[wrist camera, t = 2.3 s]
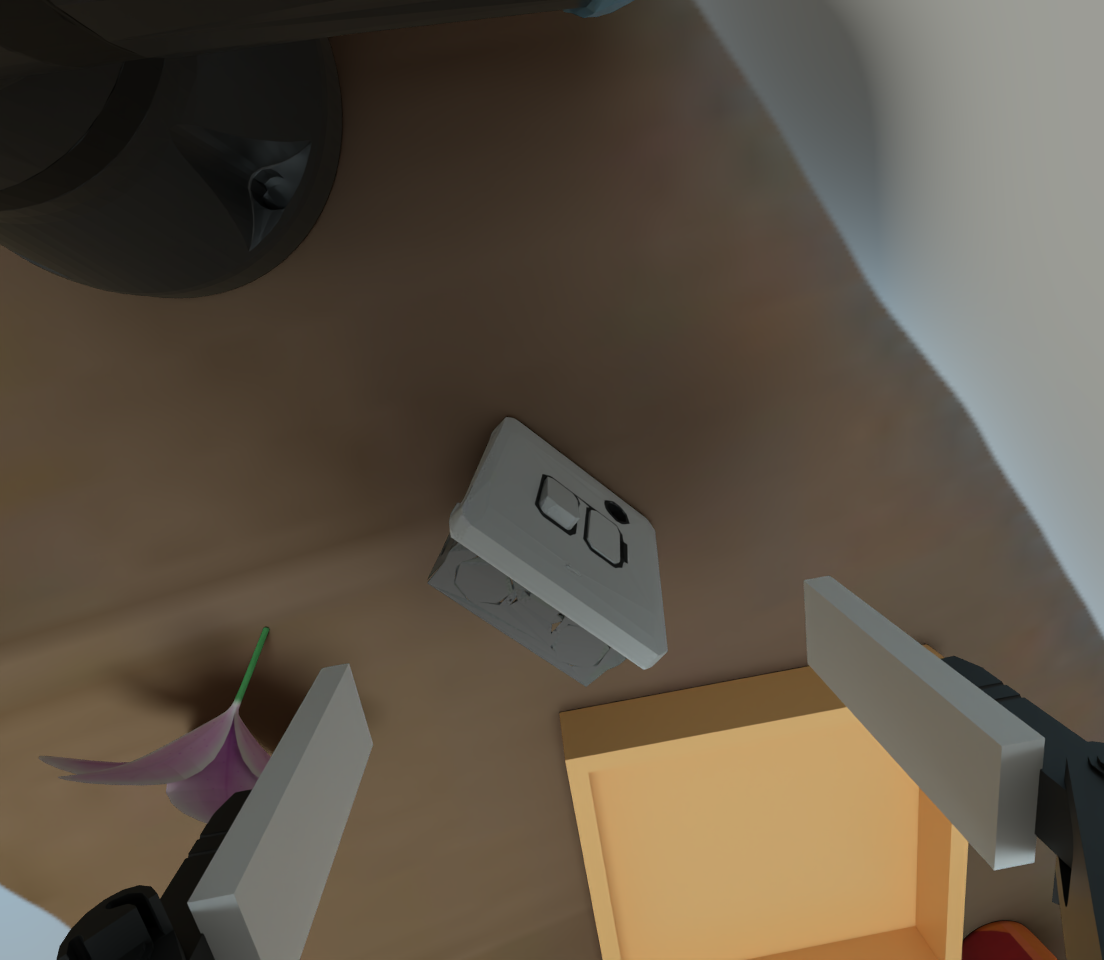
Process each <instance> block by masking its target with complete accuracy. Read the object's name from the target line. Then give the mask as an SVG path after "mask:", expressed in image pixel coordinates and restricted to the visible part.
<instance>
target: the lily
mask: <svg viewBox="0 0 1104 960" xmlns="http://www.w3.org/2000/svg"><path fill="white" fill-rule="evenodd" d="M268 632H269V628H263V631H262V633H261V636H260V638H259V641H258V643H257V646H256V648H255V651H254V653H253V656H252V658H251V661H250V663H249V666H248V669H247V671H246V674H245V676H244V679H243V681H242V684H241V686H240V689H239V691H238V693H237V695H236V697H235V700H234V702H233V704H232V705H231V707H230V708H229V709H228V710H227V711H225V712H224V713H223V714H221V715H219V716H218V717H216V718H214V719H212V720H211V721H209V722H207V723H205V724H203V725H202V726H200V727H198V728H196V729H194V730H193V731H191V732H189V733H187V734H185V735H183V736H182V737H180V738H178V739H176V740H174V741H172V742H171V743H169V744H167V745H165V746H163V747H161V748H159V749H157V750H155V751H153V752H151V753H150V754H147V755H145V756H143V757H141V758H139V759H136V760H134V761H132V762H122V763H117V762H103V761H90V760H81V759H72V758H63V757H53V756H39V759H40V760H42V761H43V762H45V763H46V764H49V765H51V766H54V767H56V768H58V769H61V770H64V771H68V772H71V773H75V774H77V775H70V776H61V777H58V778H60V779H64V780H69V781H76V782H83V783H93V784H108V785H158V784H167V790H166V793H167V795H168V797H169V799H170V801H171V803H172V804H173V805H174V806H175V807H176V808H178V809H179V810H180V811H181V812H183V813H184V814H186V815H188V816H190V817H192V818H195V819H197V820H199V821H201V822H204V823H208V822H209V820H210V819H211V817H212V815H213V814H214V813H215V812H216V811H217V810H218V809H219V808H220V807H221V806H222V805H223V804H224V803H225V802H226V801H227V800H228V799H229V798H230V797H231V796H232V795H233V794H234V793H235V792H240V791H245V790H250V789H253V787H254V786H255V784H256V782H257V780H258V779H259V777H260V775H261V773H262V772H263V770H264V768H265V766H266V765H267V763H268V761H269V759H270V758H271V757H270V756H269V755H268V754H267V752H266V751H265V750H264V749H263V748H262V747H261V746H260V745H259V743H258V742H257V741H256V740H255V738H254V737H253V736H252V734H251V733H250V731H249V730H248V728H247V727H246V726H245V724H244V723H243V721H242V720H241V718H240V716H239V707H240V704H241V702H242V699H243V696H244V694H245V691H246V689H247V686H248V683H249V681H250V678H251V676H252V673H253V671H254V668H255V666H256V663H257V661H258V658H259V655H260V653H261V650H262V648H263V645H264V642H265V640H266V637H267V635H268Z"/></svg>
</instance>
